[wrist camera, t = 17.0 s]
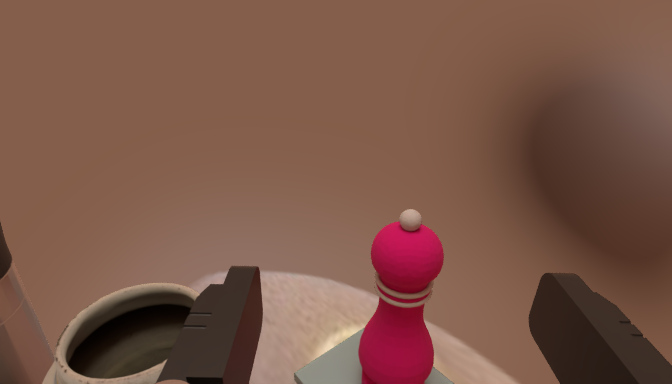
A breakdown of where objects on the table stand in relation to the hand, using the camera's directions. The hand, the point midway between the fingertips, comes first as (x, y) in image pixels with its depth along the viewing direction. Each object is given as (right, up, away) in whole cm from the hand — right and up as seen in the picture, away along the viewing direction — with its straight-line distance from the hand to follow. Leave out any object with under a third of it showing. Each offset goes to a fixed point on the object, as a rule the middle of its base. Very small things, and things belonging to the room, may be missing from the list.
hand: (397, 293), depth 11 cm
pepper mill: (+4, -17, +28) cm, 33 cm away
